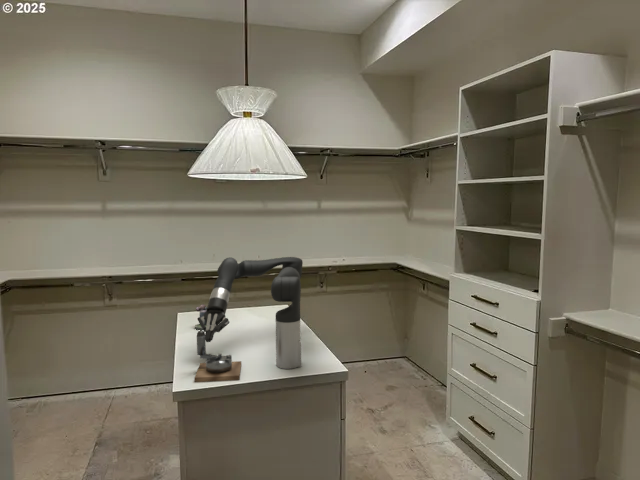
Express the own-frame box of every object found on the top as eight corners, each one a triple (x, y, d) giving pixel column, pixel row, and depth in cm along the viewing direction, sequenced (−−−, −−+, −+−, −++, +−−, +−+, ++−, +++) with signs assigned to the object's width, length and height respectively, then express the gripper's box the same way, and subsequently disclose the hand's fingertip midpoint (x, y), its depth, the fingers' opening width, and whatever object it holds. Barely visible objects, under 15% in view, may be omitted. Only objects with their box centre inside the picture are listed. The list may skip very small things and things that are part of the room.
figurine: (202, 331, 212) (201, 306, 211) (191, 328, 217) (190, 304, 216) (216, 327, 218) (216, 303, 217) (205, 324, 223) (204, 301, 222)
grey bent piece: (237, 365, 162) (236, 330, 161) (222, 374, 154) (221, 337, 153) (206, 360, 167) (205, 326, 166) (190, 369, 159) (189, 333, 158)
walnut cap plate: (241, 365, 168) (241, 360, 168) (239, 379, 154) (239, 375, 154) (200, 367, 166) (200, 362, 166) (194, 382, 152) (194, 377, 152)
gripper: (236, 307, 181) (227, 346, 170) (205, 306, 183) (194, 345, 172) (232, 297, 176) (221, 337, 165) (200, 296, 178) (187, 335, 167)
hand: (207, 341), depth 168 cm, fingers closed
